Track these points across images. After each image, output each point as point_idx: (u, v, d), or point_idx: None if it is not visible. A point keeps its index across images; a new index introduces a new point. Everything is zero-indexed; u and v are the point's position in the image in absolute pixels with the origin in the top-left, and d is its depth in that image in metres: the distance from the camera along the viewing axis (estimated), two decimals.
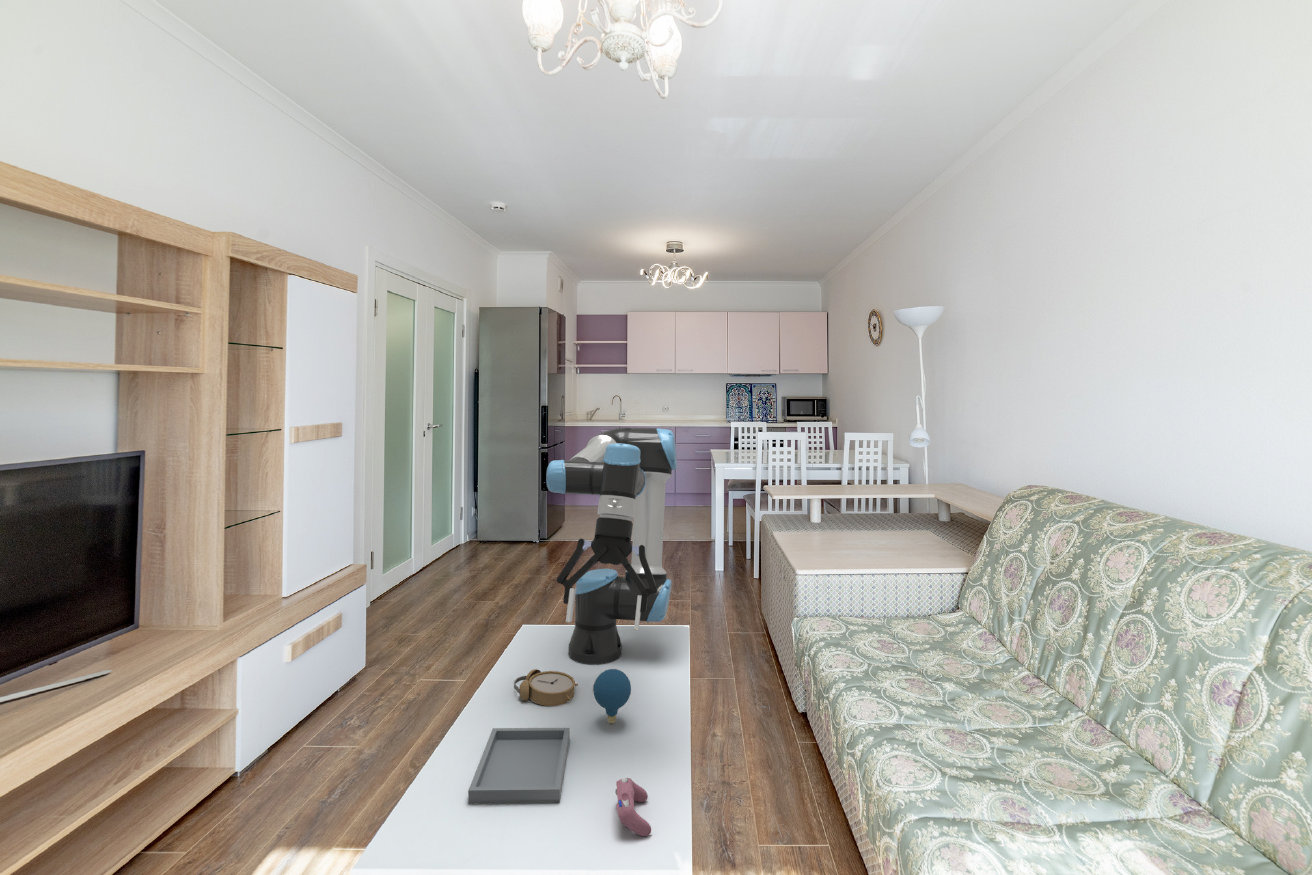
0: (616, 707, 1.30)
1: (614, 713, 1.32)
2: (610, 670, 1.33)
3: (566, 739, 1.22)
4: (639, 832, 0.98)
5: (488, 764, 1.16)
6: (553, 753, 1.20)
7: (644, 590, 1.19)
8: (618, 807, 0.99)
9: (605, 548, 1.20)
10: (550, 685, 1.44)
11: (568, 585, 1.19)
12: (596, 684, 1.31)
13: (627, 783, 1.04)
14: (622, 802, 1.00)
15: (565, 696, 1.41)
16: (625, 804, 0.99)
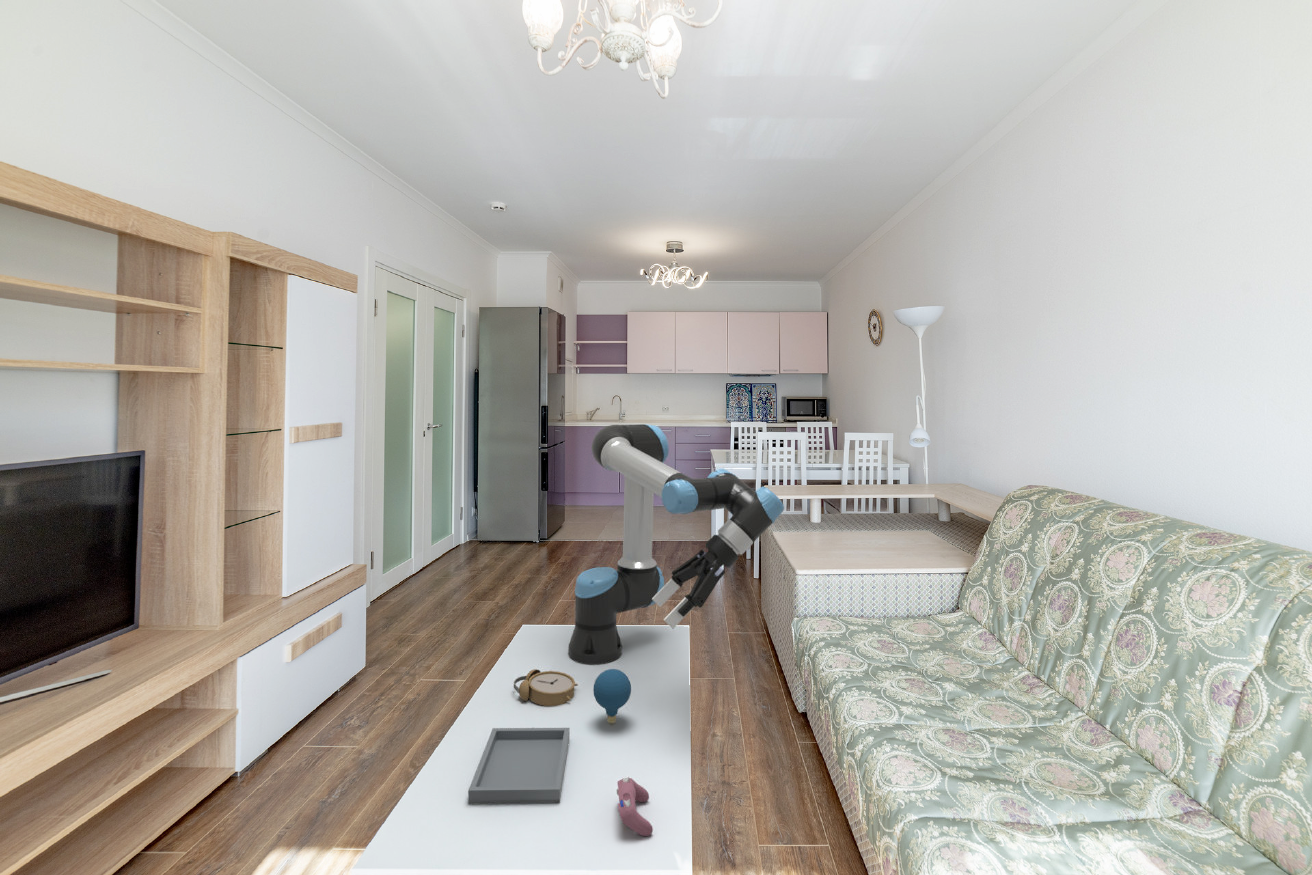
0: (616, 707, 1.30)
1: (614, 713, 1.32)
2: (610, 670, 1.33)
3: (566, 739, 1.22)
4: (641, 832, 0.98)
5: (488, 764, 1.16)
6: (553, 753, 1.20)
7: None
8: (619, 807, 0.99)
9: None
10: (550, 685, 1.44)
11: None
12: (596, 684, 1.31)
13: (628, 783, 1.04)
14: (623, 802, 1.00)
15: (565, 696, 1.41)
16: (626, 804, 0.99)
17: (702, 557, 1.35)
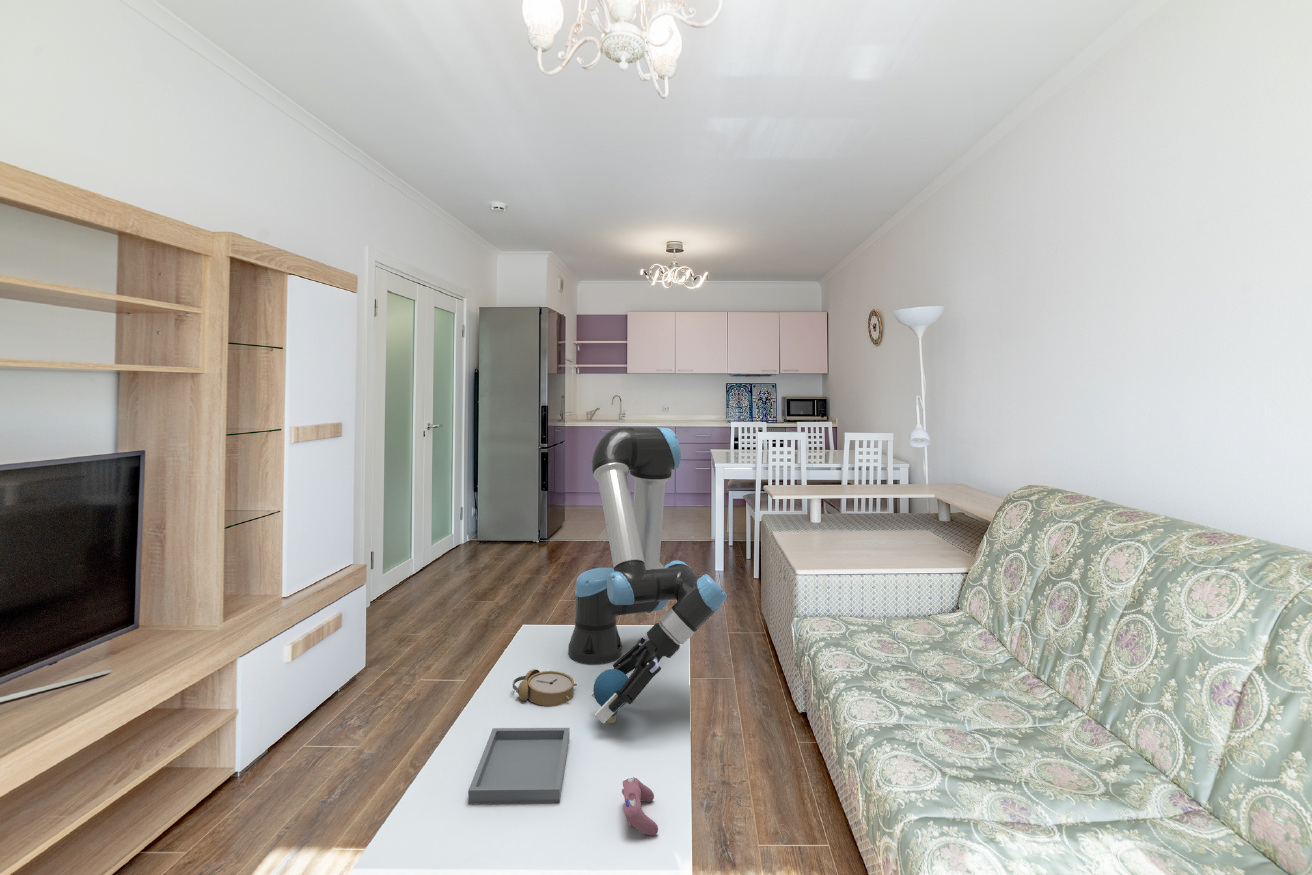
0: None
1: (614, 713, 1.32)
2: (610, 670, 1.33)
3: (566, 739, 1.22)
4: (646, 832, 0.99)
5: (488, 764, 1.16)
6: (553, 753, 1.20)
7: None
8: (625, 807, 0.99)
9: None
10: (549, 685, 1.44)
11: None
12: (596, 684, 1.31)
13: (634, 783, 1.04)
14: (629, 802, 1.00)
15: (564, 696, 1.41)
16: (632, 804, 0.99)
17: (644, 645, 1.34)
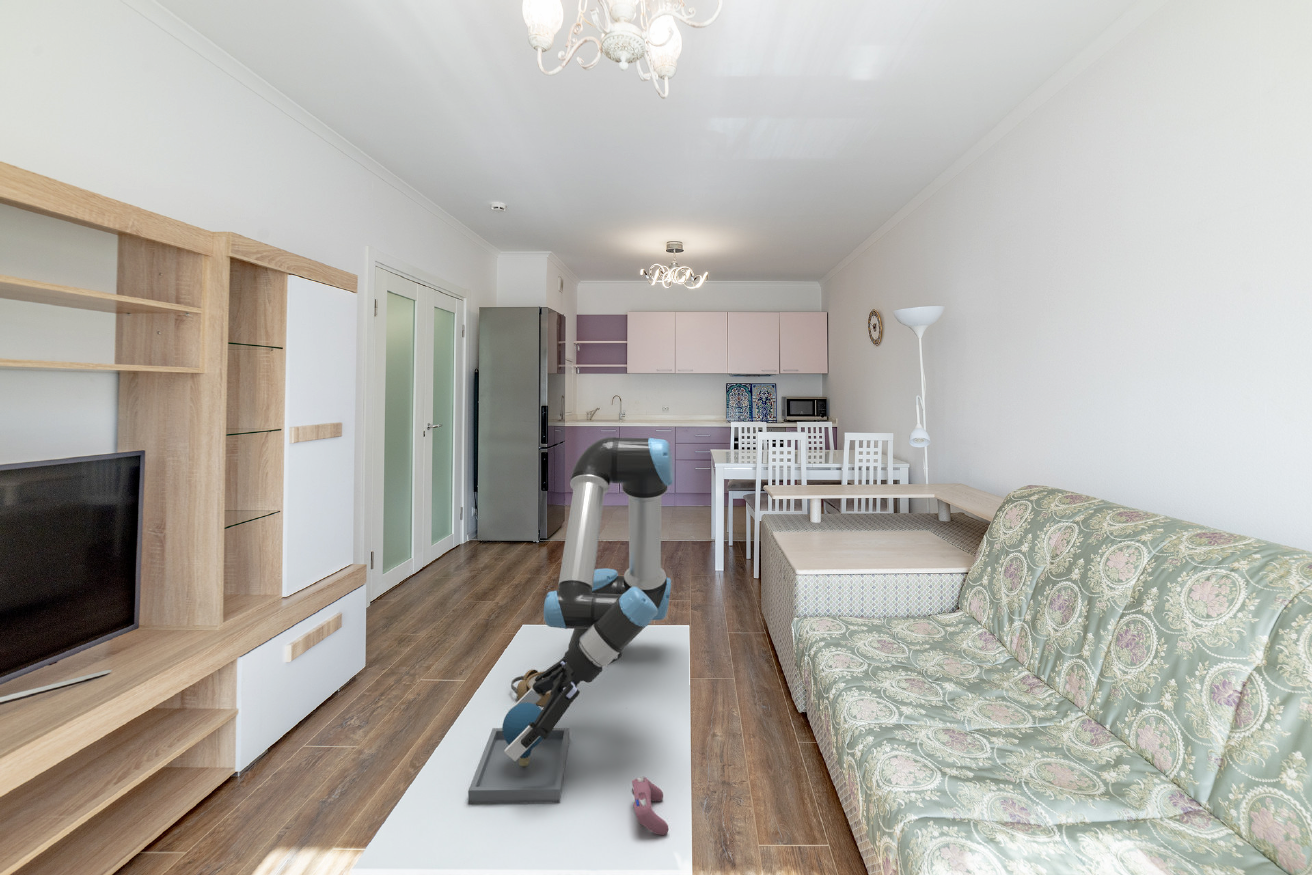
0: None
1: (526, 754, 1.15)
2: (522, 704, 1.16)
3: (566, 739, 1.22)
4: (657, 831, 0.99)
5: (488, 764, 1.16)
6: (553, 753, 1.20)
7: None
8: (635, 806, 1.00)
9: None
10: None
11: None
12: (505, 721, 1.14)
13: (643, 782, 1.04)
14: (639, 801, 1.00)
15: None
16: (642, 803, 1.00)
17: (561, 669, 1.17)
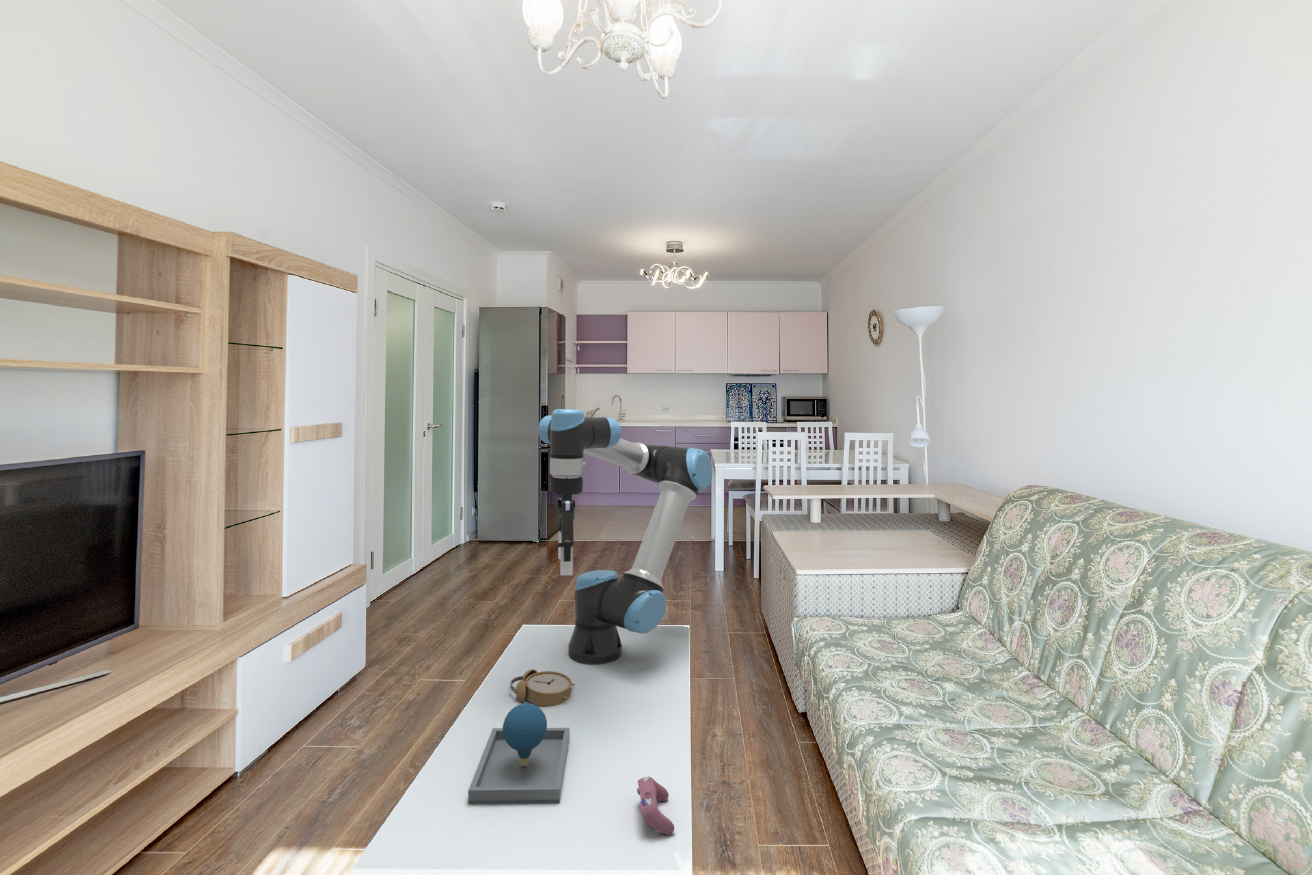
0: (527, 748, 1.13)
1: (526, 755, 1.15)
2: (522, 705, 1.16)
3: (566, 739, 1.22)
4: (663, 830, 0.99)
5: (488, 764, 1.16)
6: (553, 753, 1.20)
7: None
8: (641, 806, 1.00)
9: (574, 503, 1.38)
10: (547, 685, 1.44)
11: None
12: (505, 721, 1.14)
13: (649, 782, 1.04)
14: (645, 801, 1.00)
15: (562, 696, 1.41)
16: (648, 803, 1.00)
17: (557, 501, 1.39)
